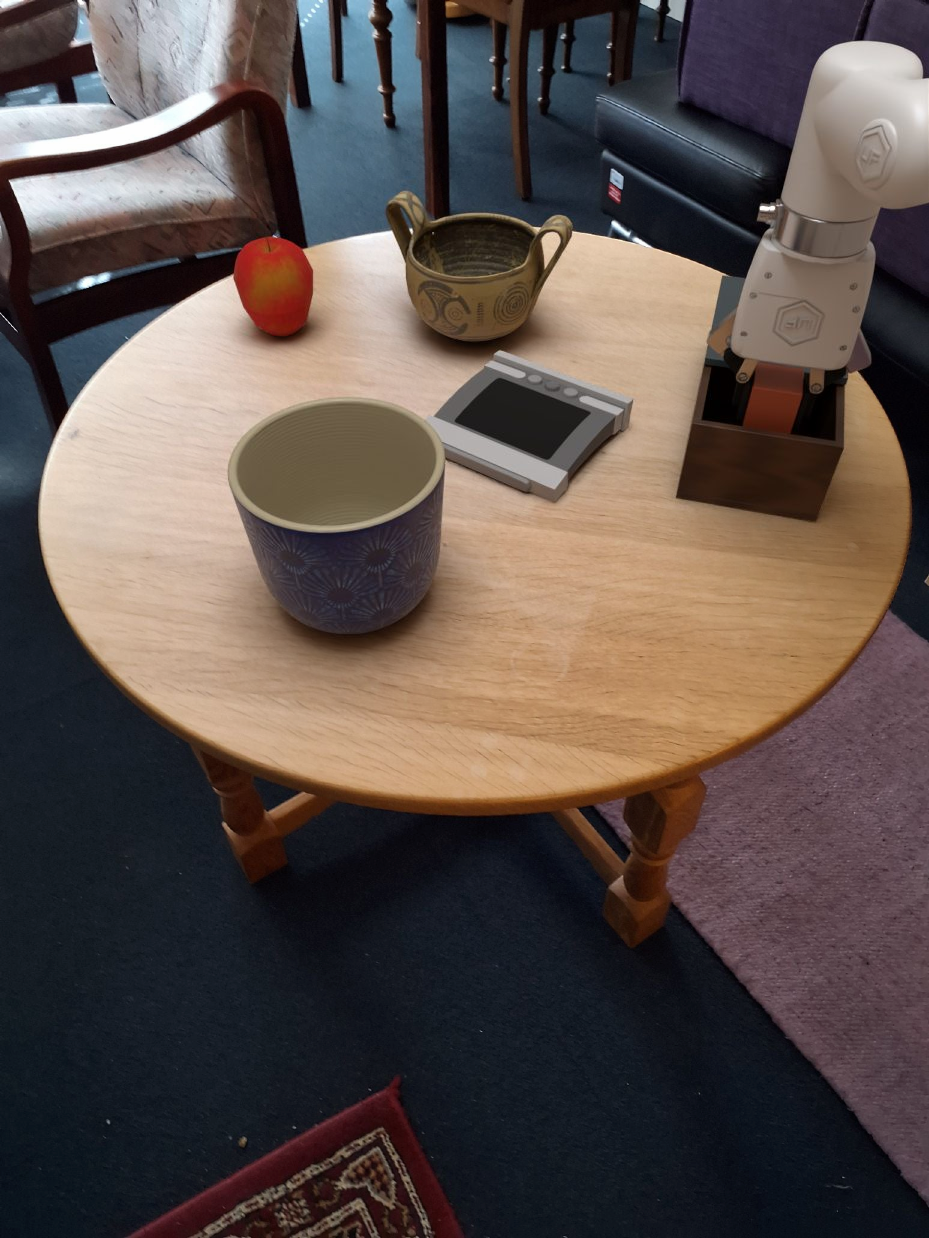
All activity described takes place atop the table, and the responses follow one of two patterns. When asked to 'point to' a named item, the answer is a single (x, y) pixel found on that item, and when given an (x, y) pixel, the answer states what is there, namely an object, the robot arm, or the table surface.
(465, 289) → the ceramic bowl
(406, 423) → the planter
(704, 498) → the box
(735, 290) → the lid
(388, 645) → the table surface
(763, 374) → the block
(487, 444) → the alarm clock
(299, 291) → the apple
